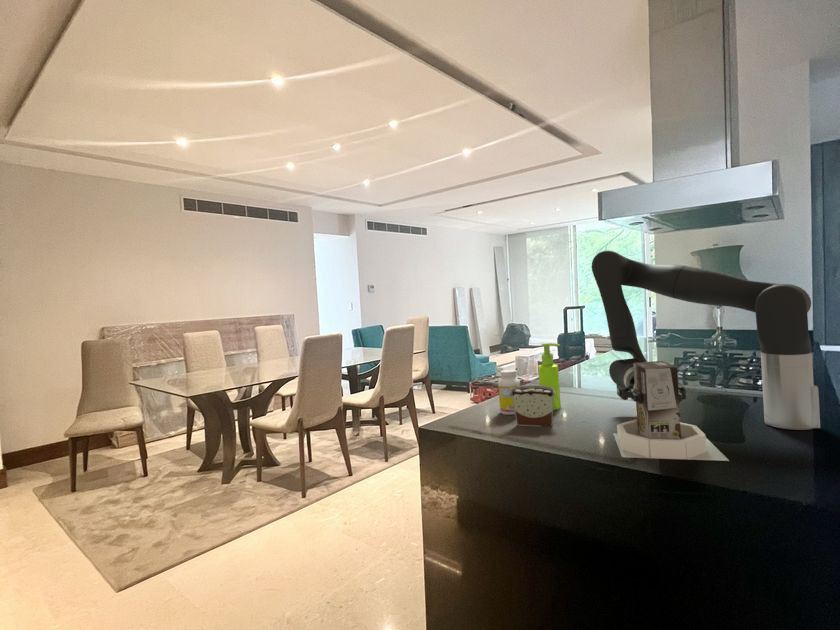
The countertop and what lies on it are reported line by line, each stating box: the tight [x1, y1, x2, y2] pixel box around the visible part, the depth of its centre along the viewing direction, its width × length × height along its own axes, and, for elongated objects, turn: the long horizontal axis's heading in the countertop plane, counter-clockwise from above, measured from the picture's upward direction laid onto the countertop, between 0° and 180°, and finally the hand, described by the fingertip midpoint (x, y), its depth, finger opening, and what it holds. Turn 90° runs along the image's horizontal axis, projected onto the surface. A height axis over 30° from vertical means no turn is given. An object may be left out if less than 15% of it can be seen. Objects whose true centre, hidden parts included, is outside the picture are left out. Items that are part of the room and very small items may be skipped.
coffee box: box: [633, 360, 681, 440], centre depth 95 cm, size 9×6×16 cm
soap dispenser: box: [537, 342, 562, 411], centre depth 134 cm, size 6×7×20 cm
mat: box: [612, 433, 730, 462], centre depth 94 cm, size 19×16×1 cm
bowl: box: [616, 418, 707, 460], centre depth 95 cm, size 16×16×4 cm
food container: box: [510, 384, 556, 428], centre depth 120 cm, size 12×6×10 cm, turn 65°
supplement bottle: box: [497, 369, 521, 416], centre depth 133 cm, size 7×7×13 cm
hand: (658, 398), depth 92 cm, fingers closed on coffee box, 6 cm apart
